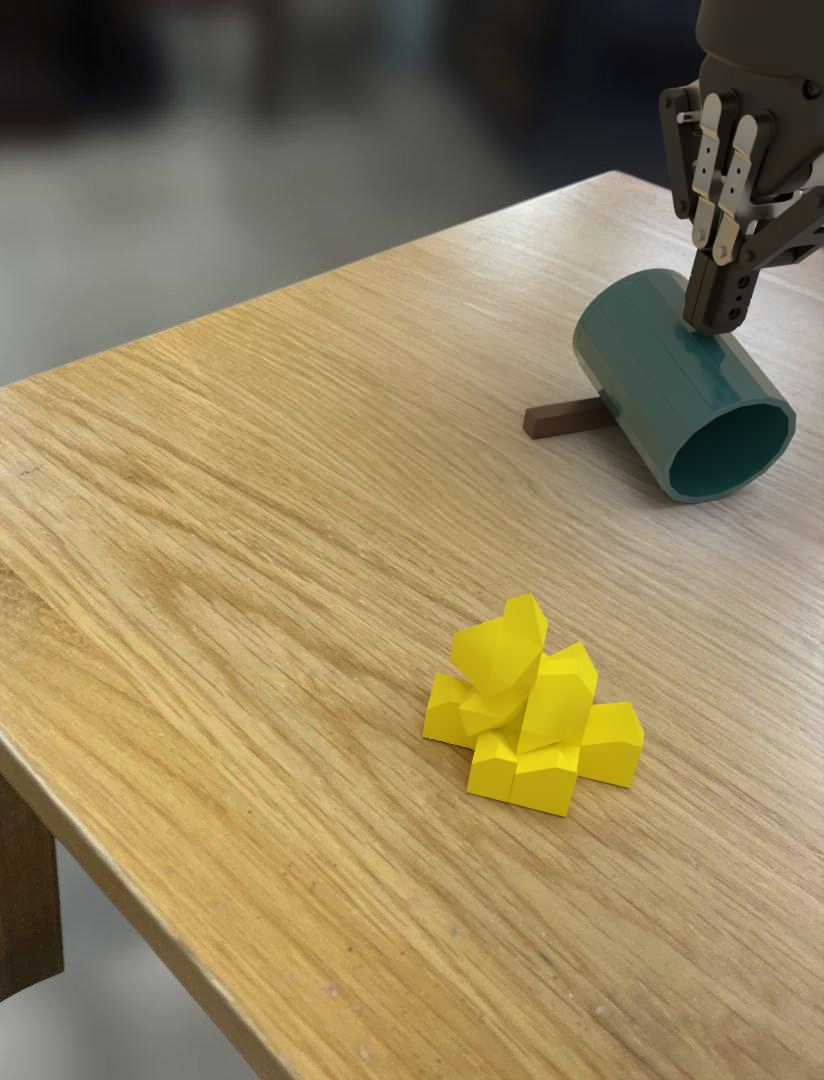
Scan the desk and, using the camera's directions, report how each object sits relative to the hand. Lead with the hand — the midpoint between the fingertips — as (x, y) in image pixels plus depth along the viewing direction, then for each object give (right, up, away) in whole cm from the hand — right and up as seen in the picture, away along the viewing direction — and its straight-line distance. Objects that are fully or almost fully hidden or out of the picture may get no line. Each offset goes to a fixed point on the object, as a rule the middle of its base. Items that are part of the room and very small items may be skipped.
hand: (708, 326), depth 58 cm
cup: (-2, +1, +6) cm, 7 cm away
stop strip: (-2, -3, +8) cm, 9 cm away
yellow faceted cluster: (-11, -18, -10) cm, 24 cm away
